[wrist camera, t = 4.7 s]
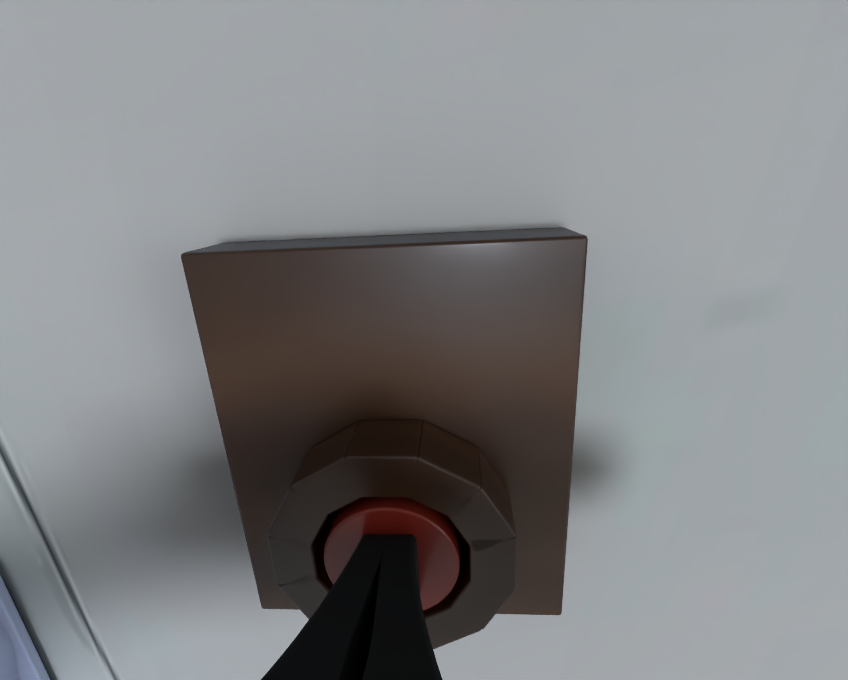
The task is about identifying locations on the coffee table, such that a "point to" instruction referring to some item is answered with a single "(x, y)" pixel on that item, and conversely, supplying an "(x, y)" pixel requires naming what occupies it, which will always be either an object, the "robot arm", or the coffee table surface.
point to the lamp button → (399, 517)
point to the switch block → (400, 401)
